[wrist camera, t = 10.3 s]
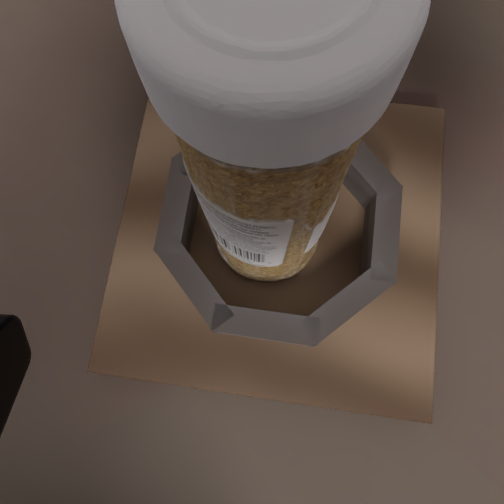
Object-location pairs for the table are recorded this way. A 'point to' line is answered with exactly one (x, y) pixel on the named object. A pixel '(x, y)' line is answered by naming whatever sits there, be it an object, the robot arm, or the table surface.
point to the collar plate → (286, 284)
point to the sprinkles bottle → (270, 107)
